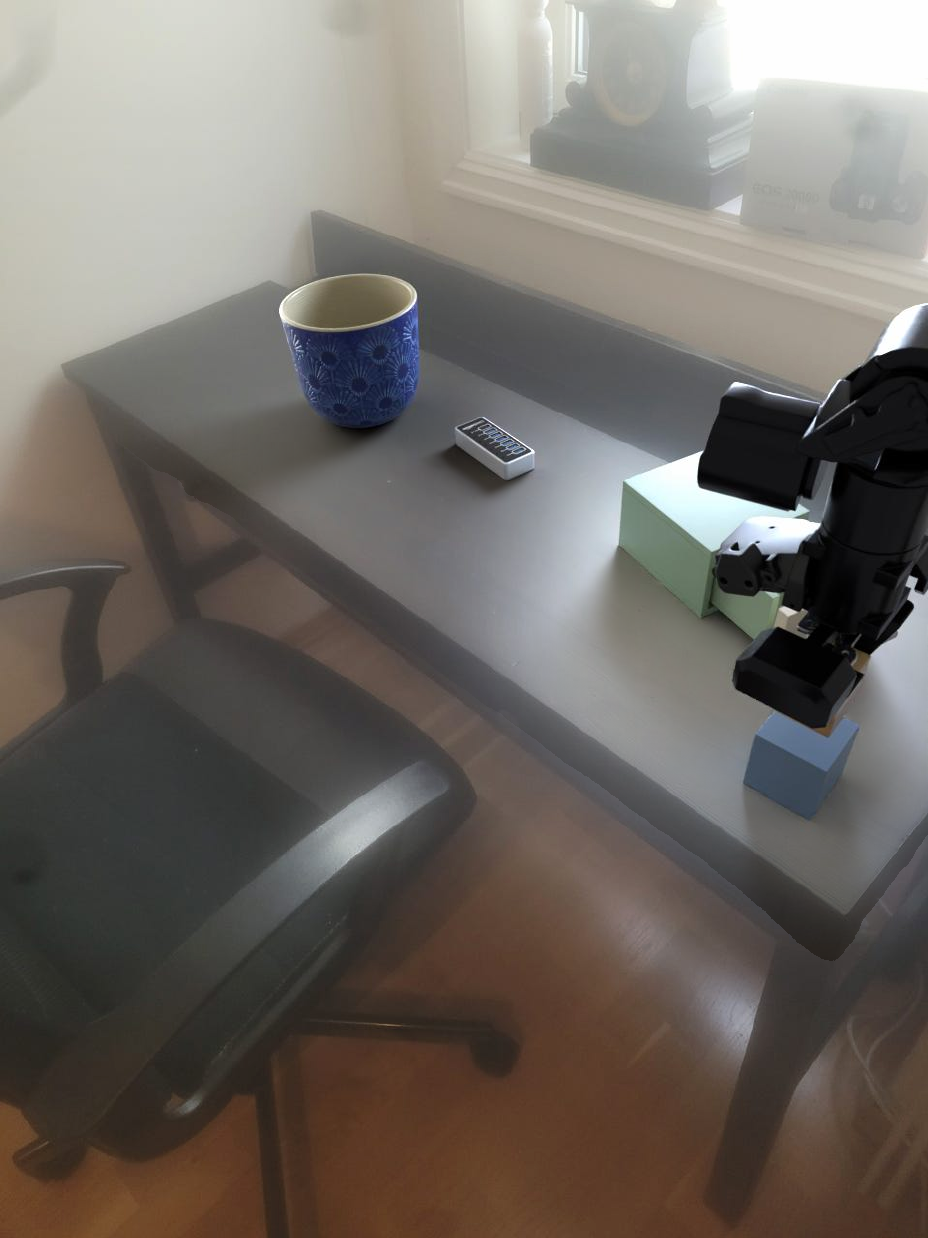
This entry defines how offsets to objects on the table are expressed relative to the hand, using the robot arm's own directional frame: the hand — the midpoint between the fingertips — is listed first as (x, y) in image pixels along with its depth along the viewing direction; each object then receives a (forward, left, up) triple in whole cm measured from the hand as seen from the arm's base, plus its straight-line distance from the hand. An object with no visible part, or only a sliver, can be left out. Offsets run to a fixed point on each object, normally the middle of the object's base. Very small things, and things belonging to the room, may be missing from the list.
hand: (816, 699), depth 62 cm
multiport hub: (+12, -53, -10) cm, 55 cm away
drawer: (-8, -16, -9) cm, 19 cm away
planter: (+26, -69, -10) cm, 75 cm away
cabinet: (-4, -27, -9) cm, 29 cm away
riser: (0, 0, -9) cm, 9 cm away
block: (0, 0, -1) cm, 1 cm away
